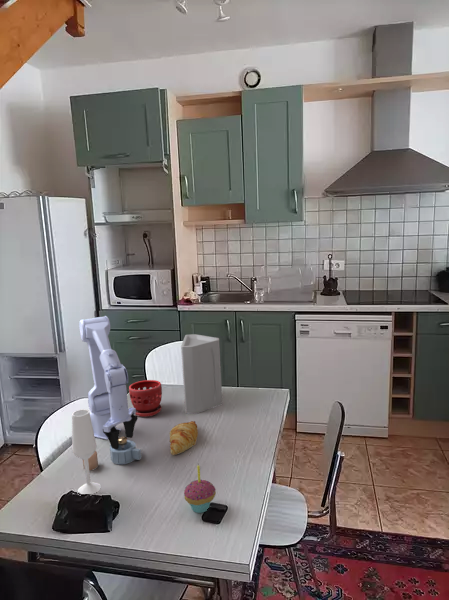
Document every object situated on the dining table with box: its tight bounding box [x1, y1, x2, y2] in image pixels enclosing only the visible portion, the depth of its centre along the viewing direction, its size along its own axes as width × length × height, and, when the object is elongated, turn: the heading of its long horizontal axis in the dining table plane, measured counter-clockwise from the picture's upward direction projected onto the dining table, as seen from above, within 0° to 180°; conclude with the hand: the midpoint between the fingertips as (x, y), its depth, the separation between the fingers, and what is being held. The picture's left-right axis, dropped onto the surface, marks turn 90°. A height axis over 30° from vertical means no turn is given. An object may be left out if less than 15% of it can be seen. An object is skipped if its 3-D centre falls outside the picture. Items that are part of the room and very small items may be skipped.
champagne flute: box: [71, 408, 102, 494], centre depth 127 cm, size 7×7×24 cm
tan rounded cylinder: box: [82, 450, 99, 471], centre depth 141 cm, size 5×5×4 cm
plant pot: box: [128, 379, 163, 418], centre depth 180 cm, size 13×13×12 cm
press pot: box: [109, 439, 142, 466], centre depth 145 cm, size 11×8×4 cm
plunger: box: [119, 436, 128, 451], centre depth 145 cm, size 5×5×6 cm
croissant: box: [169, 420, 199, 456], centre depth 154 cm, size 21×10×8 cm, turn 166°
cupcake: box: [183, 462, 217, 514], centre depth 118 cm, size 9×8×12 cm
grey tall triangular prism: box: [180, 333, 223, 415], centre depth 184 cm, size 19×15×28 cm
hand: (122, 442), depth 145 cm, fingers open, 7 cm apart
